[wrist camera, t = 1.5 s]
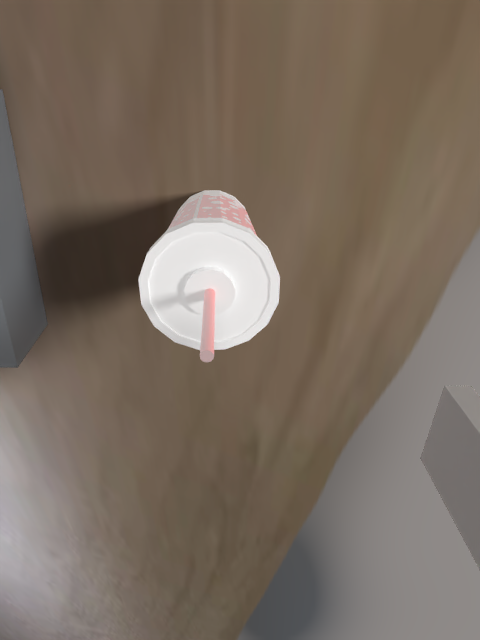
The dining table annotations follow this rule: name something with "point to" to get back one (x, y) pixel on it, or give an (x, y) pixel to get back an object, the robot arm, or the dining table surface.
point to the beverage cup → (209, 276)
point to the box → (16, 261)
